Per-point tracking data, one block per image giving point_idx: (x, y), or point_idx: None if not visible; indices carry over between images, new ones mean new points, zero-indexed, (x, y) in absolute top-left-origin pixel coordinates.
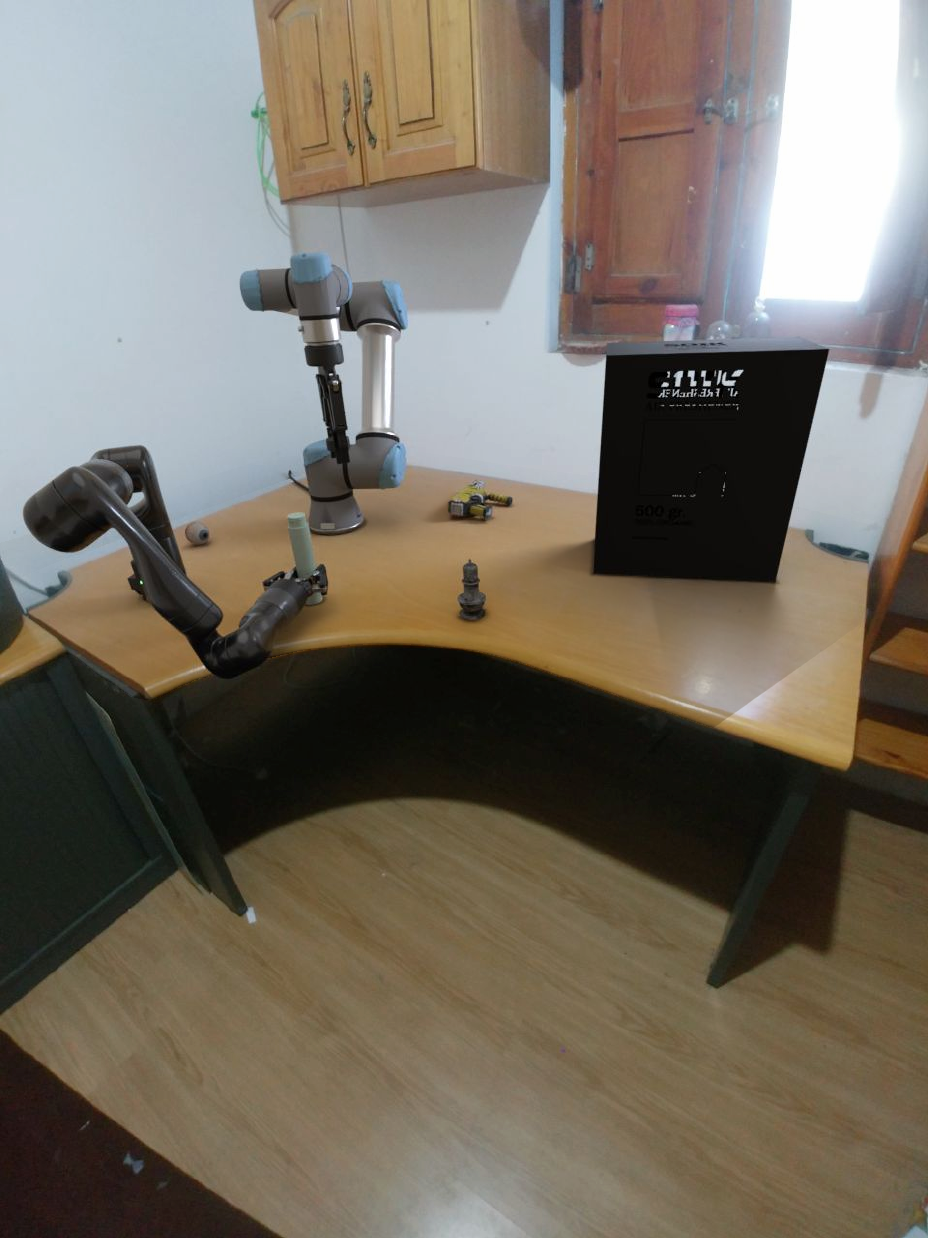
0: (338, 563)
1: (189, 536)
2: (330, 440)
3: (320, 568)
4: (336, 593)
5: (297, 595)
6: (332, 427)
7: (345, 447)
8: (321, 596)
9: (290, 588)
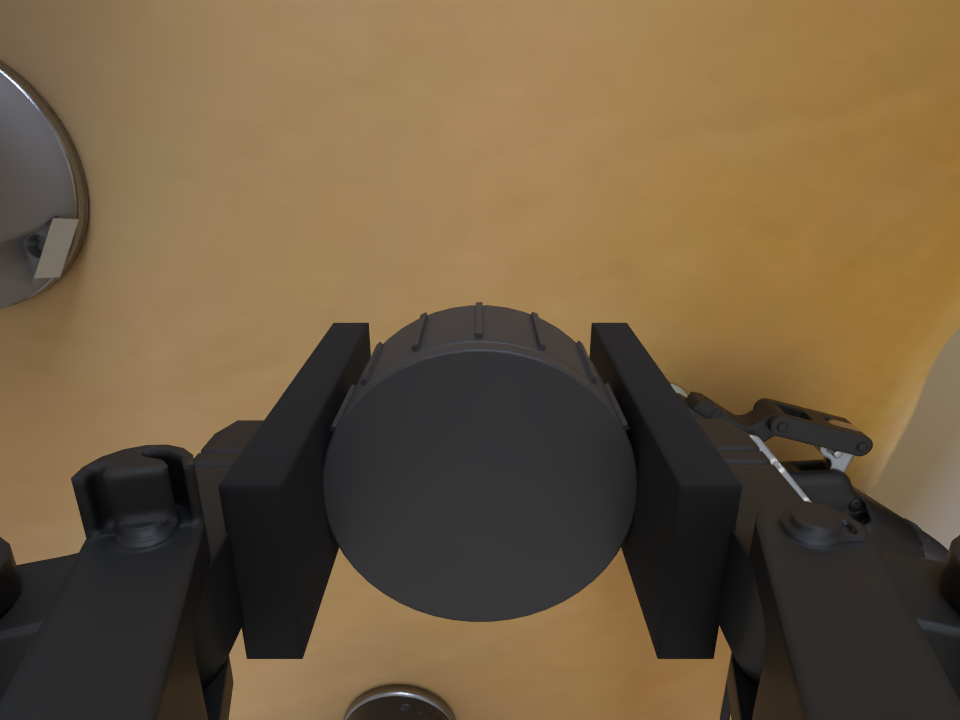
0: (407, 272)
1: None
2: (558, 589)
3: None
4: (654, 334)
5: (906, 532)
6: (282, 586)
7: (730, 426)
8: (680, 391)
9: None
